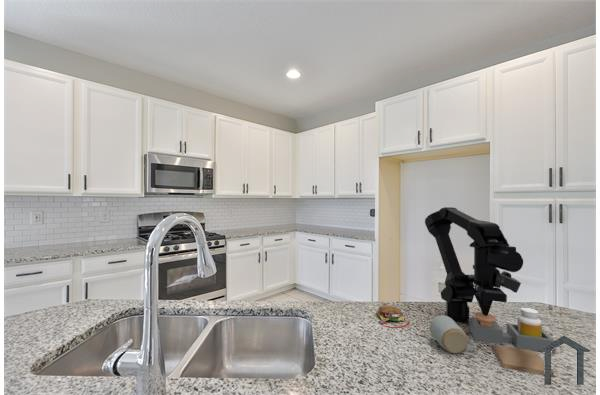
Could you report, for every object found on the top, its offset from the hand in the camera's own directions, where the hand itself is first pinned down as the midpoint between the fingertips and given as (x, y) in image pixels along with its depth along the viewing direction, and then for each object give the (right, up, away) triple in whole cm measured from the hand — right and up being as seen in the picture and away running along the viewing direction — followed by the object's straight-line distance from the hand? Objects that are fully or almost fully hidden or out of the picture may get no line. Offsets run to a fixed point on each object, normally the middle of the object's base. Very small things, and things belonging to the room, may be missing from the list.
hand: (485, 315), depth 85 cm
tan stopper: (0, -6, 0) cm, 6 cm away
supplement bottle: (+10, -7, -4) cm, 13 cm away
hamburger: (-26, -7, +12) cm, 29 cm away
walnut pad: (0, -6, -13) cm, 15 cm away
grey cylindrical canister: (-13, -7, -6) cm, 16 cm away
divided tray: (+5, -6, -2) cm, 9 cm away
